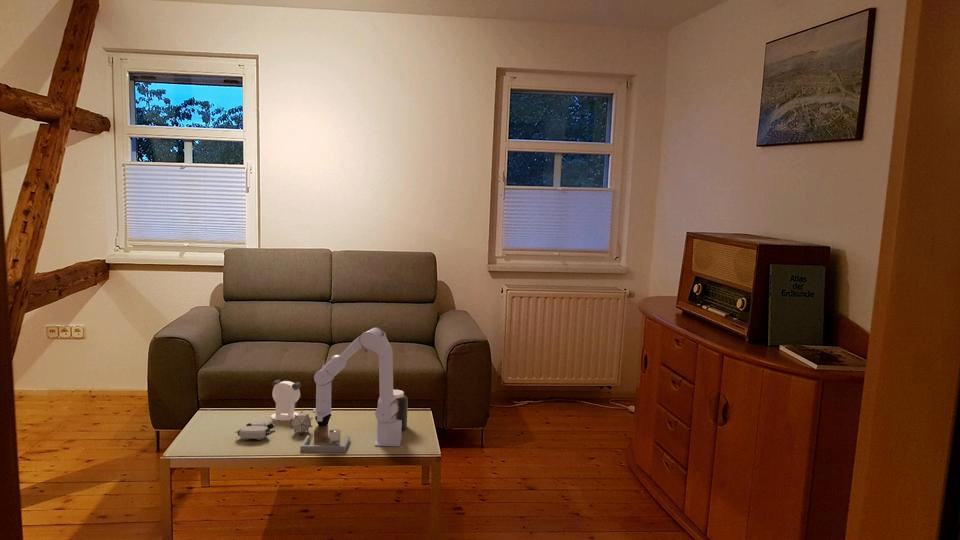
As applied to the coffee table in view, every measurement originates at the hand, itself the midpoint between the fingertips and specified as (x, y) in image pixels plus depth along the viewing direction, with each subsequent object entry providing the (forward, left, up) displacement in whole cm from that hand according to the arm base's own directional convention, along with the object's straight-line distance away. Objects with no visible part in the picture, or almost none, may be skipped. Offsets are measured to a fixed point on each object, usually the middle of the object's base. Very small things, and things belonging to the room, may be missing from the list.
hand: (323, 433), depth 237 cm
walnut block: (0, +4, -1) cm, 4 cm away
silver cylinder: (-6, +11, -1) cm, 13 cm away
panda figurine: (+20, -22, -1) cm, 30 cm away
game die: (+9, -3, -1) cm, 10 cm away
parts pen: (-3, +10, -1) cm, 11 cm away
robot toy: (+25, +1, -2) cm, 25 cm away
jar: (-26, -10, -1) cm, 28 cm away
